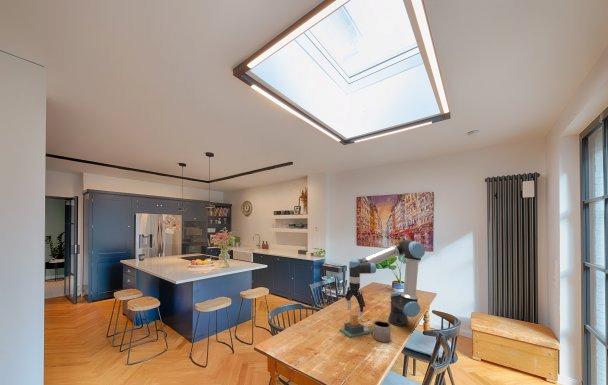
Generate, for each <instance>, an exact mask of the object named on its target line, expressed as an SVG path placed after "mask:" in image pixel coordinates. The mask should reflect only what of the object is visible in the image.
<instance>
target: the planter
mask: <svg viewBox="0 0 608 385" xmlns="http://www.w3.org/2000/svg"><path fill="white" fill-rule="evenodd" d="M373 338H374V339H375V340H376V341H377V342H381V343H389V342H390V341H391V323H390V322H386V321H384V320H377V321H376V320H375V321H374V322H373Z"/></svg>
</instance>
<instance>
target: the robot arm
mask: <svg viewBox="0 0 608 385" xmlns="http://www.w3.org/2000/svg"><path fill="white" fill-rule="evenodd" d="M425 253H426V251H425V246H424V245H423V244H422V243H421V242H418V241H416V240H415V241H414V240H408V239H405V240H404V239H403V240H401V241H399V242H396V243H393V244H391V246H390V247H387V248H385V249H382V250H380V251H377V252H376V253H374V254H371V255H369V256H366V257H363V258H361V259H359V258H358V259H350V260H349V262H348V272H349V274H348V275H349V280H348V281H349V284H348V285H349V286H347V288H346V289H347V290H346V293H345V296H344V299H346V310H347V311H350V310H352V306H351V304H352V301H351V299H352V297H353V296H354V297H355V299H356V301H357V303H358V318H359V317H363V316H364V313H363V312H364V307H366V303H365V300H364V297H363V291H362V290H361V291H360V288H361V275H362V274H363V275H364V274H365V275H367V274H369V275H372V274H376V272H377V265H378V264H379V263H383V262H384V261H386V260H388V259H391V258H393V257H395V256H396V257H399V256H402V255H404V260H405V271H404V283H403V291H391V293H390V312H389V316H388V323H389V324H390V325H394V326H396V327H407V326H409V324H410V320H409V318H415V317H417V316H418V315H419V314H420V313H421V306H420V304H419V302H418V301H419V300H418V299H419V298H418V296H417V283H418V273H419V263H420V262H421V261H422V258H423V257H424V255H425ZM408 317H409V318H408Z"/></svg>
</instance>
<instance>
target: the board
mask: <svg viewBox="0 0 608 385" xmlns="http://www.w3.org/2000/svg"><path fill="white" fill-rule="evenodd" d="M339 332H341V333H342V334H344V336H346V337H347V338H349V339H352V338H357V337H361V336H366V335H372V334H374V330H371V329H370V328H368V327H367V326H365V325H363V324H362V323H359V322H358V326H353V327H352V326H351V325H350V321H349V322H344V327H342V328H339Z"/></svg>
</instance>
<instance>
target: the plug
mask: <svg viewBox="0 0 608 385" xmlns="http://www.w3.org/2000/svg"><path fill="white" fill-rule="evenodd" d="M349 322H350V325H351V326H352V327H353V326H358V323H359V314H357V313H350V316H349Z"/></svg>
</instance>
